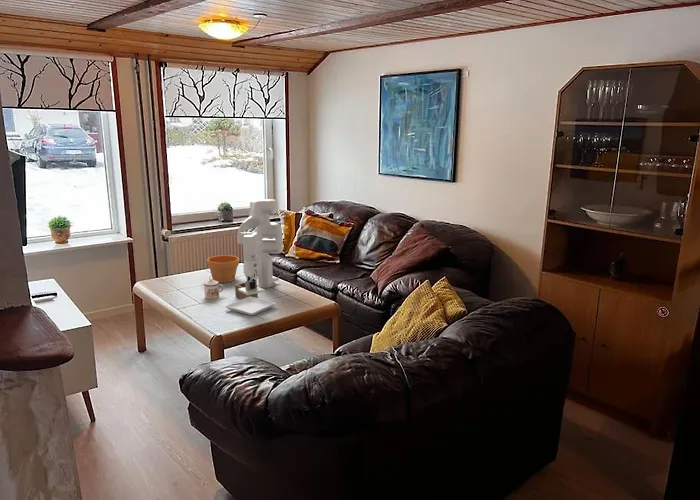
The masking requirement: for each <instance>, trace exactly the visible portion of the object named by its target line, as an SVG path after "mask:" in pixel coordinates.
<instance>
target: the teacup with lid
mask: <svg viewBox="0 0 700 500" xmlns="http://www.w3.org/2000/svg"><path fill="white" fill-rule="evenodd" d="M203 287H204V298H205V299H208V300H213V299H214V300H215V299H218V298H220V293H222V292H223V291H224V285H223V284H222V283H221V284H220V282H218V281H215V280H213V278H209V280H206V281H205V282H203ZM219 287H221V290H220V288H219Z"/></svg>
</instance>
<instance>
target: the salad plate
mask: <svg viewBox="0 0 700 500" xmlns="http://www.w3.org/2000/svg"><path fill="white" fill-rule="evenodd" d="M276 304H277V303H276V302H273V301H271V300H268V299H267V300H266V299H263V298H259V297H258V298H255V297H251V296H250V297H247V298H244V299H242V300H241V299H239V300H236V301H234V302H232V303H229V304H227V305H225V308H226V309H228V310H230V311H233V312H237V313H241V314H244V315H248V316H255V315H257V314H259V313H262V312H264V311H266V310H269V309H271V308H272V307H274V306H276Z"/></svg>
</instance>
